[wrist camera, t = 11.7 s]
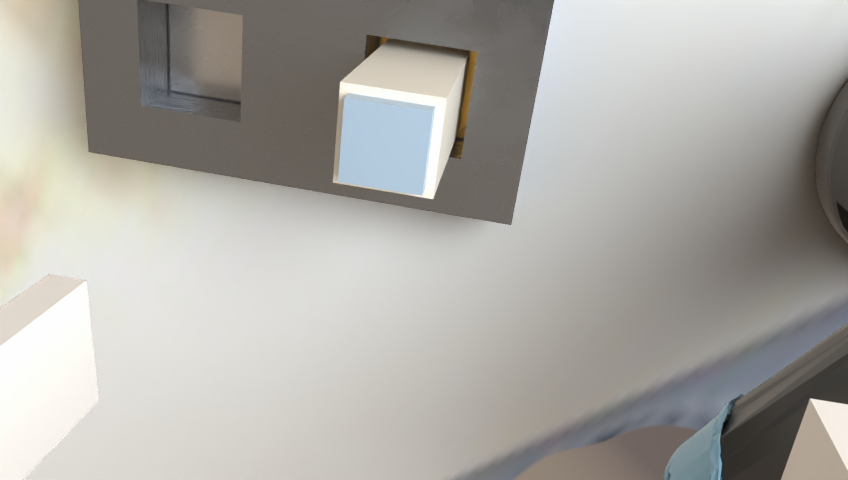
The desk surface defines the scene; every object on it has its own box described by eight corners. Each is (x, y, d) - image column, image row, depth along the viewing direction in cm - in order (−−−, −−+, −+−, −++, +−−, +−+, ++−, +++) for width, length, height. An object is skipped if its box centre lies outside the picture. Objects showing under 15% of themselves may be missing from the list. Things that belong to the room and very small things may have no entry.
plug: (470, 49, 40) (444, 103, 29) (459, 128, 42) (430, 205, 31) (390, 37, 41) (335, 86, 30) (382, 116, 42) (328, 188, 32)
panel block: (553, -16, 39) (555, -7, 35) (513, 195, 44) (510, 224, 40) (119, -80, 41) (73, -78, 37) (128, 130, 46) (88, 151, 42)
